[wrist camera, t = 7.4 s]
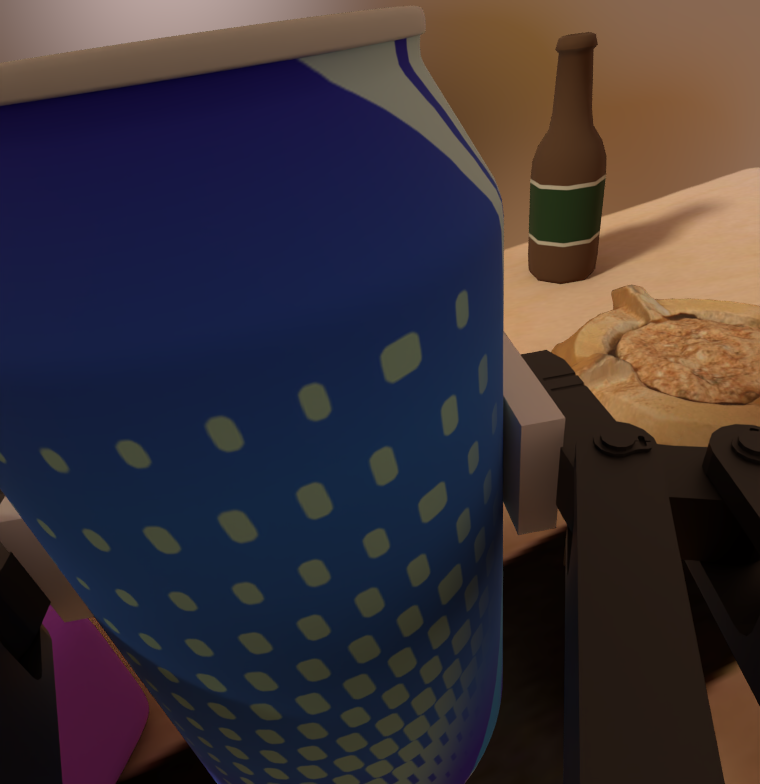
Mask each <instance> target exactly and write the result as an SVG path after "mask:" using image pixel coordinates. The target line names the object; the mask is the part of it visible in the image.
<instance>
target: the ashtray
mask: <svg viewBox="0 0 760 784" xmlns="http://www.w3.org/2000/svg"><path fill="white" fill-rule="evenodd" d="M611 295H612V299H613V310H611V311H608V312H605V313H602V314H599V315H598V316H597V317H595V318H593V319H591V320H589V321H588V322H587V323H586V324H585V325H584V326H582V327H581V328H580V329H579V330H578V331H577V332H576V333H575V334H574V335H572V336H571V337H570V338H569V339H567V340H566V341H564V342H562V343H560V344H557V345H556V346H555V347H554V348H553V350H552V352H551V353H553V354H555V355H557V356H559V357H561V358H563V359H564V360H565V361H566V362H567V363H568V364H569V365H570V367H571V368H572V369H573V370H574V371H575V374H576V375H578V376H579V377H580V379H581V380H582V381H583V382H584V385H585V386H587V387H588V388H589V389H590V390H591V392H592V393H593V394H594V395H595V396H596V398H597V399H598V400H599V401H600V402H601V404H602V405H603V406H604V407H605V408H606V410H607V411H608V412H609V413H610V414H611V415H612V417H613V418H614V419H615V420H616V421H619V422H624V423H630V424H632V425H634V426H637V427H639V428H642V429H644V430H645V431H646V432H647V433H649V434H650V435H651V436H652V437H654V439H655V441H656V443H657V444H663V445H673V446H697V447H708V444H709V440H710V438H711V435H712V433H713V432H714V431H716V430H717V429H719V428H720V427H723V426H728V425H733V424H746V425H755V426H760V306H757V305H752V304H745V303H738V302H732V301H718V300H710V299H705V300H702V299H661V300H658V299H654V298H652V297H651V296H650V295H649V294H648V293H647V292H646V290H645V289H644V288H642V287H640V286H636V285H627V286H624V287H621V288H618V289H616V290H613V291H612V293H611Z"/></svg>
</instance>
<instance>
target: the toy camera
mask: <svg viewBox="0 0 760 784" xmlns="http://www.w3.org/2000/svg"><path fill="white" fill-rule="evenodd" d="M42 624H43V625H44V627H45V628H46V629H47V630H48V631H49V634H50V636H51V639H52V648H53V661H54V675H55V688H56V701H57V715H58V728H59V741H60V755H61V768H62V782H63V784H116V782H117V780H118V778H119V777H120V775H121V773H122V771H123V769H124V767H125V765H126V763H127V762H128V760H129V758H130V756H131V754H132V752H133V750H134V748H135V746H136V744H137V742H138V740H139V738H140V736H141V734H142V732H143V729H144V727H145V724H146V721H147V719H148V714H149V705H148V701H147V698H146V696H145V694H144V692H143V691H142V689H141V687H140V686H139V685H138V683H137V682H136V680H135V679H134V677H133V676H132V675H131V673H130V672H129V671H128V669H127V668H126V667H125V665H124V664H123V663H122V661H121V660H120V659H119V657H118V656H117V655H116V653H115V652H114V651H113V649H112V648H111V647H110V645H109V644H108V643H107V641H106V640H105V639H104V637H103V636H102V635H101V633H100V632H99V631H98V629H97V628H96V627H95V626H94V625H93V624H92V623H91V622H90V620H89V619H88V618H85V619H80V620H75V621H70V622H64V621H63V620H62V618H61V617H60V616H59V615H58V613H57V612H56V611H55V610H54V608H53V607H52V606H51V605H50V606H49V608H48V610H47V613H46V615H45V617H44V619H43V622H42Z"/></svg>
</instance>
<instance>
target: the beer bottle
mask: <svg viewBox="0 0 760 784" xmlns="http://www.w3.org/2000/svg"><path fill="white" fill-rule="evenodd" d="M596 45H598V44H597V39H596V34H594V33H591V32H587V33H578V34H571V35H566V36H563V37H561V38H560V39H559V40H558V43H557V47H556V51H557V52H558V53H559V57H558V66H557V76H556V85H555V95H554V104H553V113H552V117H551V122H550V127H549V130H548V132H547V133H546V134H545V136H544V138H543V139H542V141H541V142H540V144H539V145H538V148H537V150H536V153H535V156H534V159H533V161H532V170H531V182H530V215H529V246H528V263H529V270H530V272H531V273H532V274H533V275H534V276H535V277H536V278H537V279H538V280H540V281H546V282H552V283H559V284H563V283H569V282H575V281H581V280H585V278H586V277H587V276H588V275H589V274H590V273H591V272H592V271H593V270H594V269H595V265H596V259H597V253H598V244H599V234H600V225H601V215H602V206H603V197H604V186H605V177H606V153H605V149H604V145H603V142H602V139H601V137H600V136H599V134H598V132H597V131H596V129H595V127H594V126H593V116H592V84H593V49H594V48H595V47H596Z"/></svg>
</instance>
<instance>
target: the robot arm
mask: <svg viewBox="0 0 760 784" xmlns="http://www.w3.org/2000/svg"><path fill="white" fill-rule="evenodd" d="M503 502H504V504H505V507H506V509H507V511H508V513H509V516H510V518H511V520H512V522H513V524H514V527H515V529H516V531H517V533H518V535H521V534H526V533H532V532H537V531H542V530H547V529H553V528H556V520H557V509H559V511H560V513H561V514H562V516H563V518H564V520H565V522H566V523H567V533H566V543H565V552H564V562H563V565H564V566H566V573H565V677H564V780H563V784H725V782H724V777H723V772H722V767H721V762H720V757H719V752H718V746H717V741H716V736H715V731H714V726H713V721H712V716H711V711H710V706H709V700H708V695H707V690H706V685H705V680H704V675H703V670H702V665H701V660H700V654H699V649H698V644H697V639H696V634H695V629H694V624H693V619H692V614H691V608H690V603H689V598H688V593H687V588H686V583H685V578H684V573H683V568H682V562H681V559H683V560H685V562H686V564H687V566H688V568H689V570H690V572H691V574H692V576H693V578H694V579H695V581H696V583H697V585H698V587H699V589H700V591H701V593H702V595H703V597H704V599H705V601H706V603H707V605H708V607H709V609H710V611H711V613H712V614H713V616H714V618H715V620H716V622H717V624H718V626H719V628H720V630H721V632H722V634H723V636H724V638H725V640H726V642H727V644H728V646H729V647H730V649H731V651H732V653H733V655H734V657H735V659H736V661H737V663H738V665H739V667H740V669H741V671H742V673H743V675H744V677H745V679H746V681H747V682H748V684H749V686H750V688H751V690H752V692H753V694H754V696H755V698H756V700H757V702H758V704H759V706H760V426H755V425H746V424H733V425H728V426H723V427H720V428H719V429H717V430H716V431H714V432H713V433H712V435H711V438H710V440H709V444H708V447H697V446H673V445H663V444H657V443H656V441H655V439H654V437H652V436H651V435H650V434H649V433H647V432H646V431H645V430H644V429H642V428H639V427H637V426H634V425H632V424H630V423H624V422H619V421H616V420H615V419H614V418H613V417H612V415H611V414H610V413H609V412H608V411H607V410H606V408H605V407H604V406H603V405H602V404H601V402H600V401H599V400H598V399H597V398H596V396H595V395H594V394H593V393H592V392H591V390H590V389H589V388H588V387H587V386H585V385H584V382H583V381H582V380H581V379H580V377H579V376H578V375H576V374H575V371H574V370H573V369H572V368H571V367H570V365H569V364H568V363H567V362H566V361H565V360H564V359H563V358H561V357H559V356H557V355H555V354H553V353H551V352H549V351H547V350H544V351H538V352H532V353H527V354H521V355H520V353H519V352H518V351H517V349H516V348H515V346H514V345H513V344H512V342H511V341H510V339H509V338H508V337H507V335H506V334H505V332H504V331H503ZM50 605H51V606H52V607H53V608H54V610H55V611H56V612H57V613H58V615H59V616H60V617H61V618H62V620H63V621H64V622H70V621H75V620H80V619H85V618H90V617H94V616H93V614H92V613H91V612H90V610H89V609H88V607H87V606H86V605H85V603H84V602H83V601H82V599H81V598H80V597H79V595H78V594H77V593H76V591H75V590H74V588H73V587H72V586H71V584H70V583H69V582H68V580H67V579H66V578H65V576H64V575H63V574H62V572H61V571H60V569H59V568H58V567H57V565H56V564H55V563H54V561H53V560H52V559H51V557H50V556H49V555H48V553H47V552H46V550H45V549H44V548H43V546H42V545H41V544H40V542H39V541H38V540H37V538H36V537H35V536H34V534H33V533H32V531H31V530H30V529H29V527H28V526H27V525H26V523H25V522H24V521H23V519H22V518H21V517H20V515H19V514H18V512H17V511H16V510H15V508H14V507H13V506H12V504H11V503H10V502H9V500H8V499H7V498H6V496H5V495H4V493H3V492H2V491H1V489H0V784H63V782H62V768H61V755H60V741H59V728H58V715H57V701H56V688H55V675H54V661H53V648H52V639H51V636H50V634H49V631H48V630H47V629H46V628H45V627H44V625H43V624H42V622H43V619H44V617H45V615H46V613H47V610H48V608H49V606H50Z"/></svg>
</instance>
